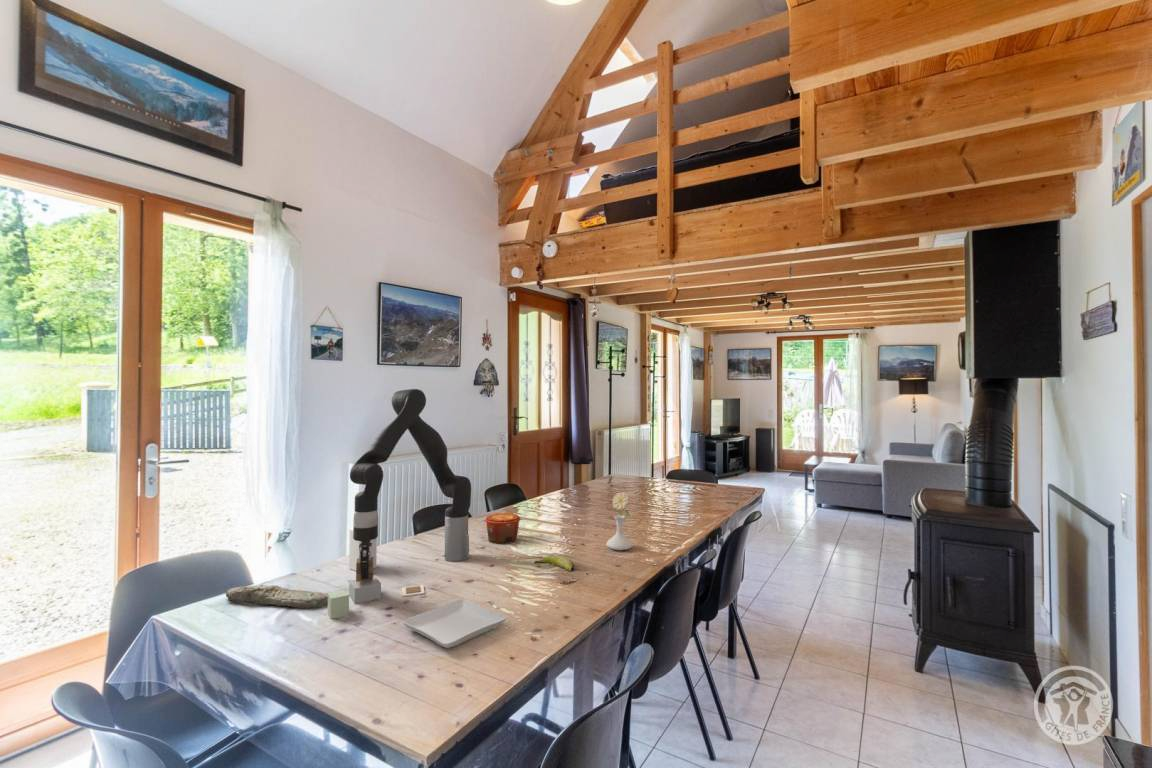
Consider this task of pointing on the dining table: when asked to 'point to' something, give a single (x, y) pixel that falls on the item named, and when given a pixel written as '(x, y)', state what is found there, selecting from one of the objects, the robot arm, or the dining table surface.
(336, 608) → the sage block
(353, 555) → the milk carton
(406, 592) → the swatch
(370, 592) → the base block
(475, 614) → the salad plate
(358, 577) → the walnut block
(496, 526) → the food container
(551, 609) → the dining table surface
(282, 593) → the long grey stone
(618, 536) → the flower in vase
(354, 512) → the robot arm
